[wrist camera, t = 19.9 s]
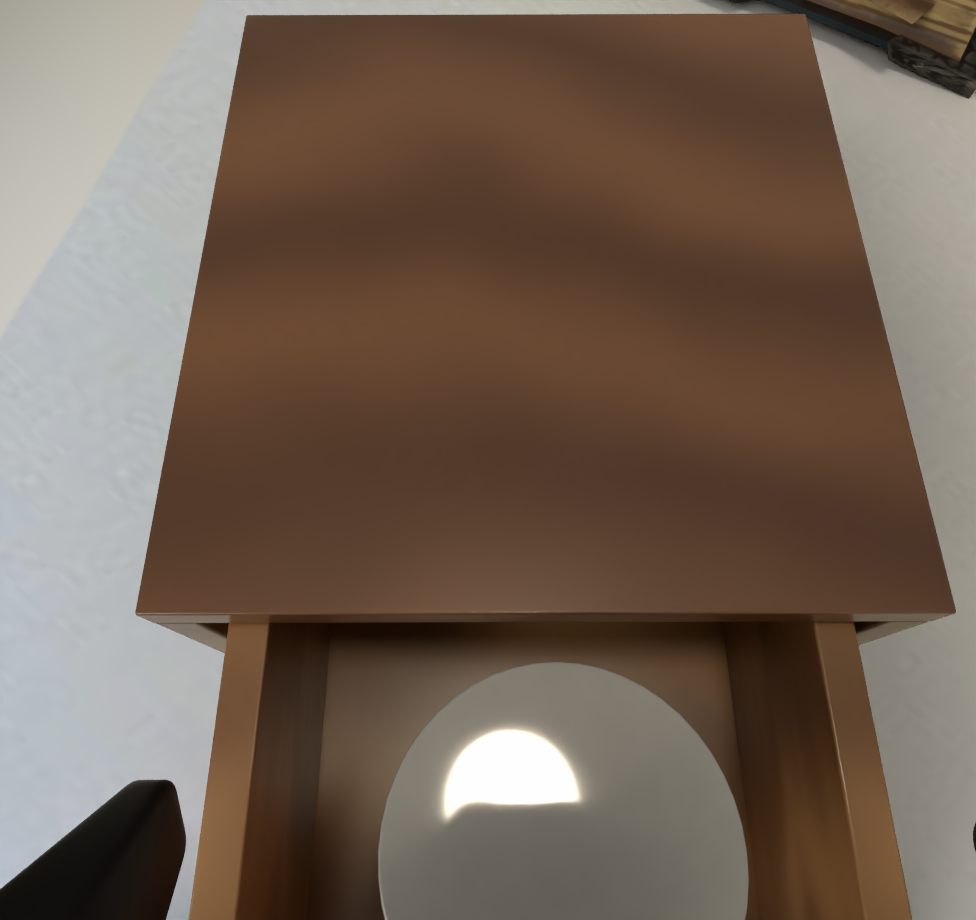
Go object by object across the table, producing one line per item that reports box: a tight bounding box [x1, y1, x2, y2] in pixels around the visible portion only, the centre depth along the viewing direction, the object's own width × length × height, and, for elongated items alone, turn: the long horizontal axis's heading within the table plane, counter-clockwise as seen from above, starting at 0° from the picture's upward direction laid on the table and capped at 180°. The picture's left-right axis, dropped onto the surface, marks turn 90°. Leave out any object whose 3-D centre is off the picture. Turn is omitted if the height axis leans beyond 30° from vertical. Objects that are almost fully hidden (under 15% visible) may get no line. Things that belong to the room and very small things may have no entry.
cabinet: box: [136, 14, 956, 653], centre depth 20 cm, size 16×15×9 cm
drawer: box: [189, 621, 912, 920], centre depth 15 cm, size 18×13×7 cm
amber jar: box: [378, 662, 749, 920], centre depth 14 cm, size 5×5×8 cm
